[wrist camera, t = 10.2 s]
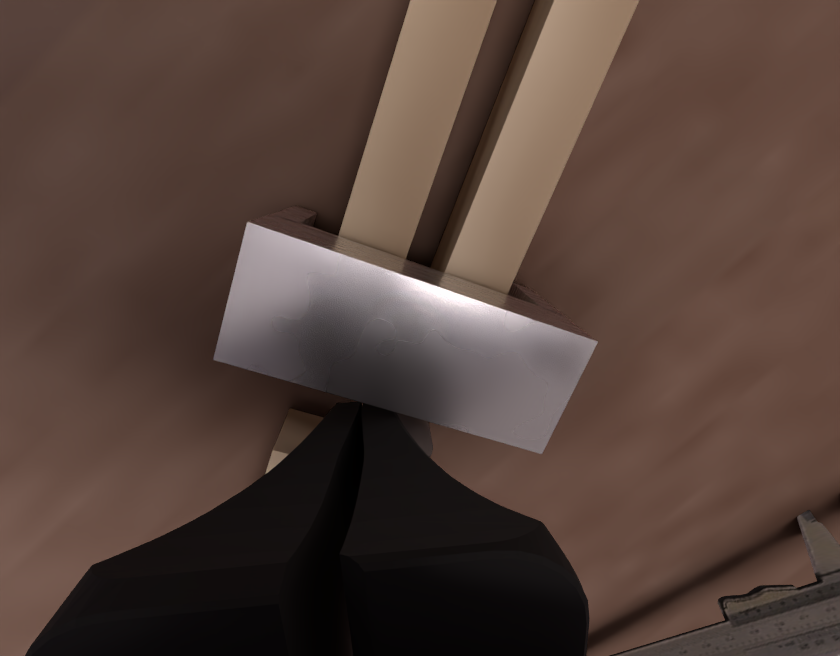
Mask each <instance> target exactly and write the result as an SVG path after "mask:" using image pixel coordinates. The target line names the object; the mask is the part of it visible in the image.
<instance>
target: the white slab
mask: <svg viewBox="0 0 840 656" xmlns="http://www.w3.org/2000/svg"><path fill="white" fill-rule="evenodd" d="M316 216H317V213H316V212H313V211H310V210H308V209H305V208H302V207H299V206H293V207H290V208H287V209H284V210H281V211H278V212H275V213H272V214H269V215H266V216H263V217H260V218H257V219H254V220H251V221H248V222H247V225H246V229H245V233H244V237H243V241H242V245H241V249H240V253H239V257H238V261H237V265H236V269H235V273H234V277H233V282H232V286H231V290H230V294H229V298H228V302H227V306H226V310H225V314H224V318H223V322H222V326H221V330H220V334H219V338H218V342H217V346H216V350H215V354H214V358H213V360H216V361H219V362H223V363H226V364H230V365H233V366H237V367H240V368H244V369H247V370H251V371H254V372H258V373H261V374H265V375H268V376H271V377H275V378H278V379H282V380H285V381H289V382H292V383H296V384H299V385H303V386H306V387H310V388H313V389H317V390H320V391H324V392H327V393H331V394H334V395H338V396H341V397H345V398H348V399H352V400H355V401H359V402H362V403H366V404H369V405H373V406H376V407H379V408H383V409H386V410H390V411H393V412H397V413H400V414H404V415H407V416H411V417H414V418H418V419H421V420H425V421H428V422H432V423H435V424H439V425H442V426H446V427H449V428H453V429H456V430H460V431H463V432H467V433H470V434H474V435H477V436H480V437H484V438H487V439H491V440H494V441H498V442H501V443H505V444H508V445H512V446H515V447H519V448H522V449H526V450H529V451H533V452H536V453H540V454H542V453H543V451H544V449H545V447H546V445H547V443H548V441H549V439H550V437H551V435H552V433H553V431H554V429H555V427H556V425H557V423H558V421H559V419H560V417H561V415H562V413H563V411H564V409H565V407H566V405H567V403H568V401H569V399H570V397H571V395H572V393H573V391H574V389H575V387H576V385H577V383H578V381H579V379H580V377H581V375H582V373H583V371H584V369H585V367H586V365H587V363H588V361H589V359H590V357H591V355H592V353H593V351H594V349H595V347H596V345H597V343H598V341H597V340H595V339H594V338H593V337H591V336H590V335H589V334H588V333H586V332H585V331H584V330H582V329H581V328H580V327H579V326H577V325H576V324H575V323H573V322H572V321H571V320H569V319H568V318H567V317H566V316H564V315H563V314H562V313H560V312H559V311H558V310H557V309H555V308H554V307H553V306H551V305H550V304H549V303H548V302H546V301H545V300H544V299H542V298H541V297H540V296H539V295H537V294H536V293H535V292H533V291H532V290H531V289H530V288H528V287H525V286H522V285H519V284H516V283H514V282H513V283H512V285H511V287H510V290H509V292H508V294H507V295H506V294H504V293H501V292H498V291H495V290H492V289H489V288H486V287H483V286H481V285H478V284H475V283H472V282H469V281H466V280H463V279H460V278H458V277H455V276H452V275H449V274H446V273H443V272H440V271H438V270H435V269H432V268H429V267H426V266H423V265H420V264H417V263H415V262H412V261H409V260H406V259H403V258H400V257H397V256H394V255H392V254H389V253H386V252H383V251H380V250H377V249H374V248H372V247H369V246H366V245H363V244H360V243H357V242H354V241H351V240H349V239H346V238H343V237H340V236H337V235H334V234H331V233H328V232H326V231H323V230H320V229H317V228H314V227H313V226H314V223H315V219H316Z"/></svg>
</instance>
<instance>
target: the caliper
mask: <svg viewBox="0 0 840 656" xmlns="http://www.w3.org/2000/svg"><path fill="white" fill-rule="evenodd" d="M797 520H798V523H799V526H800V529H801V532H802V535H803V538H804V541H805V544H806V547H807V551H808V554H809V557H810V560H811V563H812V566H813V569H814V572H815V575H816V578H817V582H814V583H811V584H808V585H805V586H802V587H798V588H796V587H794V586H793V585H763V586H758V587H756V588H754V589H753V590H751V591H750V592H749V593H747V594H743V595H733V596H724V597H721V598H719V599H718V604H719V607H720V609H721V611H722V614H723V616H724V618H725V621H722V622H718V623H715V624H712V625H709V626H705V627H702V628H699V629H695V630H692V631H689V632H686V633H682V634H679V635H676V636H673V637H669V638H666V639H663V640H659V641H656V642H653V643H650V644H646V645H643V646H640V647H637V648H633V649H630V650H627V651H623V652H620V653H617V654H614V655H610V656H840V545H839V544H838V543H837V541H836V540H835V539H834V537H833V536H832V535H831V534H830V532H829V531H828V530H827V529H826V527H825V526H824V525H823V524H822V523H819V522H817V520H816V519H815V517H814V516H813V515H812V513H811V512H810V510H808V511H806V512H804V513H802V514H801V515H799V516H797Z"/></svg>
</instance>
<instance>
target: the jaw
mask: <svg viewBox="0 0 840 656" xmlns="http://www.w3.org/2000/svg"><path fill="white" fill-rule="evenodd" d="M638 2H639V0H535V2H534V4H533V7H532V9H531V12H530V14H529V17H528V20H527V22H526V25H525V27H524V30H523V32H522V35H521V37H520V40H519V43H518V45H517V48H516V50H515V53H514V55H513V58H512V60H511V63H510V65H509V68H508V71H507V73H506V76H505V78H504V81H503V83H502V86H501V88H500V91H499V93H498V96H497V99H496V101H495V104H494V106H493V109H492V111H491V114H490V116H489V119H488V121H487V124H486V127H485V129H484V132H483V134H482V137H481V139H480V142H479V144H478V147H477V150H476V152H475V155H474V157H473V160H472V162H471V165H470V167H469V170H468V172H467V175H466V178H465V180H464V183H463V185H462V188H461V190H460V193H459V195H458V198H457V200H456V203H455V206H454V208H453V211H452V213H451V216H450V218H449V221H448V223H447V226H446V228H445V231H444V234H443V236H442V239H441V241H440V244H439V246H438V249H437V251H436V254H435V256H434V259H433V262H432V264H431V267H430V268H432V269H435V270H438V271H440V272H443V273H446V274H449V275H452V276H455V277H458V278H460V279H463V280H466V281H469V282H472V283H475V284H478V285H481V286H483V287H486V288H489V289H492V290H495V291H498V292H501V293H504V294H506V295H507V294H508V292H509V290H510V287H511V285H512V283H513V281H514V278H515V276H516V274H517V272H518V270H519V267H520V265H521V263H522V261H523V258H524V256H525V254H526V252H527V249H528V247H529V245H530V243H531V241H532V238H533V236H534V234H535V232H536V229H537V227H538V225H539V223H540V221H541V218H542V216H543V214H544V212H545V209H546V207H547V205H548V203H549V200H550V198H551V196H552V194H553V192H554V189H555V187H556V185H557V183H558V180H559V178H560V176H561V174H562V171H563V169H564V167H565V165H566V163H567V160H568V158H569V156H570V154H571V151H572V149H573V147H574V145H575V142H576V140H577V138H578V136H579V134H580V131H581V129H582V127H583V125H584V122H585V120H586V118H587V116H588V113H589V111H590V109H591V107H592V105H593V102H594V100H595V98H596V96H597V93H598V91H599V89H600V87H601V84H602V82H603V80H604V78H605V76H606V73H607V71H608V69H609V67H610V64H611V62H612V60H613V58H614V55H615V53H616V51H617V49H618V47H619V44H620V42H621V40H622V38H623V35H624V33H625V31H626V29H627V26H628V24H629V22H630V20H631V18H632V15H633V13H634V11H635V9H636V6H637V4H638ZM396 413H397V412H396ZM397 415H398V417H399V418H400V420H401V422H402V423H403V425H404V426H405V428H406V429H407V431H408V432H409V433H410V435H411V436H412V438H413V439H414V440H415V441H416V443H417V444H418V445H419V446H420V447H421V448H422V450H423V451H424V452H425V453H426V454H427V455H428V456H429V457H430V456H431V454H432V449H433V445H432V439H431V433H430V428H429V422H428V421H425V420H421V419H418V418H414V417H411V416H407V415H404V414H400V413H397Z"/></svg>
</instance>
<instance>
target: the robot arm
mask: <svg viewBox="0 0 840 656" xmlns="http://www.w3.org/2000/svg"><path fill="white" fill-rule="evenodd" d="M588 629H589V609H588V600H587V598H586V595H585V593H584V591H583V588H582V586H581V583H580V581H579V579H578V577H577V575H576V573H575V571H574V569H573V568H572V566H571V564H570V562H569V561H568V559H567V558H566V556H565V554H564V553H563V551H562V550H561V548H560V547H559V545H558V544H557V542H556V541H555V540H554V538H553V537H552V535H551V534H550V532H549V531H548V529H547V528H546V527H545V525H544V524H543V523H542V522H541V521H538V520H536V519H533V518H530V517H528V516H525V515H523V514H520V513H517V512H515V511H512V510H510V509H507V508H505V507H502V506H500V505H498V504H496V503H494V502H492V501H490V500H488V499H486V498H484V497H483V496H481V495H479V494H477V493H475V492H474V491H472V490H470V489H469V488H467V487H466V486H464V485H463V484H461V483H460V482H458V481H457V480H455V479H454V478H452V477H451V476H450V475H449V474H447V473H446V472H445V471H444V470H443V469H442V468H440V467H439V466H438V465H437V464H436V463H435V462H434V461H433V460H432V459H431V458H430V457H429V456H428V455H427V454H426V453H425V452H424V451H423V450H422V448H421V447H420V446H419V445H418V444H417V443H416V441H415V440H414V439H413V438H412V436H411V435H410V433H409V432H408V431H407V429H406V428H405V426H404V425H403V423H402V422H401V420H400V418H399V417H398V415H397V413H396V412H393V411H390V410H386V409H383V408H379V407H376V406H373V405H369V404H366V403H363V406H362V403H361V402H348V403H337V404H336V405H335V406H334V407H333V408H332V409H331V410H330V412H329V413H328V414H327V415H326V416H325V417H324V418H323V419H322V421H321V422H320V423H319V424H318V425H317V426H316V427H315V428H314V430H313V431H312V432H311V433H310V434H309V435H308V436H307V437H306V438H305V439H304V440H303V441H302V442H301V443H300V444H299V445H298V446H297V447H296V448H295V449H294V450H293V451H292V452H291V453H290V454H288V455H287V456H286V457H285V458H284V459H283V460H282V461H281V462H280V463H279V464H277V465H276V466H275V467H274V468H273V469H271V470H270V471H269V472H268V473H266V474H265V475H264V476H262V477H261V478H260V479H258V480H257V481H256V482H254V483H253V484H252V485H250V486H249V487H247V488H246V489H245V490H243V491H241V492H240V493H238V494H237V495H235V496H233V497H232V498H230V499H229V500H227V501H225V502H224V503H222V504H221V505H219V506H217V507H216V508H214V509H213V510H211V511H209V512H207V513H206V514H204V515H202V516H200V517H198V518H196V519H195V520H193V521H191V522H189V523H187V524H185V525H183V526H181V527H179V528H177V529H175V530H173V531H171V532H169V533H167V534H165V535H163V536H161V537H159V538H156V539H154V540H152V541H150V542H147V543H145V544H143V545H140V546H138V547H135V548H133V549H131V550H128V551H126V552H123V553H121V554H119V555H116V556H114V557H112V558H109V559H107V560H104V561H102V562H99V563H96V564H94V565H92V566H91V567H90V569H89V570H88V571H87V572H86V573H85V575H84V576H83V577H82V579H81V580H80V581H79V583H78V584H77V585H76V587H75V588H74V589H73V591H72V592H71V593H70V595H69V596H68V597H67V598H66V600H65V601H64V602H63V604H62V605H61V606H60V608H59V609H58V610H57V612H56V613H55V614H54V616H53V617H52V618H51V620H50V621H49V622H48V624H47V625H46V626H45V628H44V629H43V630H42V632H41V633H40V634H39V636H38V637H37V638H36V640H35V641H34V642H33V644H32V645H31V646H30V648H29V650H28V651H27V653H26V655H25V656H586V652H587V641H588Z"/></svg>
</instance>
